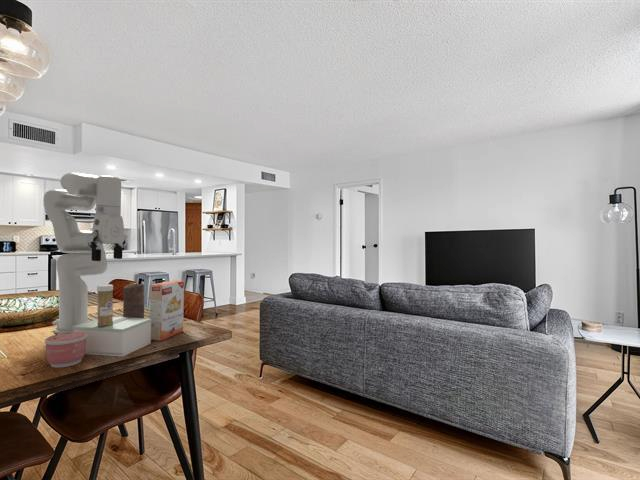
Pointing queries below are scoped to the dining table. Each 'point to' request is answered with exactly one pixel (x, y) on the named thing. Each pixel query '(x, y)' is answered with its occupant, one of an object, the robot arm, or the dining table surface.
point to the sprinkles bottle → (105, 305)
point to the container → (65, 349)
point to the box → (117, 341)
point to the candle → (133, 301)
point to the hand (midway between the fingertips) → (107, 259)
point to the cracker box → (166, 309)
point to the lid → (114, 324)
